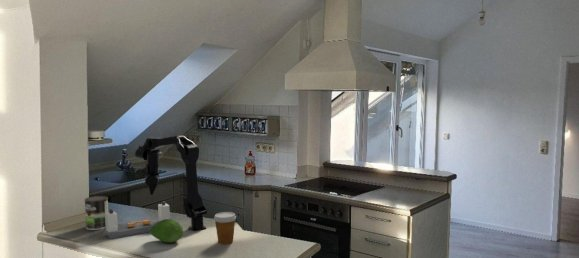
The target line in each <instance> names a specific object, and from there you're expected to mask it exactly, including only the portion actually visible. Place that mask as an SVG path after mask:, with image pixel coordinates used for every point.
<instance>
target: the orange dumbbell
mask: <svg viewBox="0 0 579 258" xmlns="http://www.w3.org/2000/svg"><path fill="white" fill-rule="evenodd" d="M150 221H151V220H150V219H146V220H140V221H139V220H138V221H133V222H128V223H126V225H127V227H132V226H135V224H137V223H142V224H150V223H151V222H150Z"/></svg>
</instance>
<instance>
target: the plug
mask: <svg viewBox="0 0 579 258" xmlns="http://www.w3.org/2000/svg"><path fill="white" fill-rule="evenodd" d="M170 206H171V205H169V204H168V203H166V201H165V200H164V201H161V204H160V203H159V204H157V208H158V209H157V210H158V211H157V212H158V220H159V221H162V220H165V219H171V213H170V212H171V210H170V209H171V207H170Z"/></svg>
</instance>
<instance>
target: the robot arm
mask: <svg viewBox="0 0 579 258" xmlns="http://www.w3.org/2000/svg"><path fill="white" fill-rule="evenodd" d="M169 145H175V147H176V151H178V152H179V154H180V157H181V160H182V161H183V162H184V165H185V175H186V176H185V177H186V178H185V179H186V189H187V191H186V192H187V193H186V194H187V195H186V196H185V197H183V199H182V201H183V208H184V210H185V214H186V217H187V218H189V219H190V223H191V224H190V226H188V229H190V230H192V231H194V232H195V231H200V230H205V229H207V227H206V226H205V225H204V216H206V215H207V214H208V211H209V210H208V208H206V206H205V204H204V203H203V202H204V201H203V198H202V196H201V195H200V193H199V187H198V186H199V185H198V173H197V172H198V171H197V163H198V159H199V158H200V147H199V146H198V144H195V143H194V142H193V141H192V140H190V139H188V138H187V137H186V136H185V135H183V134H177V135H173V136H170V137H159V136H155V137H147V138H146V139H145V142H144V143H143V145H139V146H138V147H137V149H136V150H135V152H134V157H135V158H136V159H138V160H143V161H146V165H144V166H142V167H139V168H136V169H134V173H135V176H136V177H137V178H139V177H141V176H144V175H145V179H144V183H145V184H146V185H147V186H148V189H149V194H150V196H153V195H154V193H155V191H156V189H157V187H158V184H159V179H160V178H159V176H160V169H159V167H160V164H159V162H160V155H163V153H162V151H161V150H160V148H162V147H165V146H169Z"/></svg>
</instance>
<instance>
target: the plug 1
mask: <svg viewBox="0 0 579 258" xmlns="http://www.w3.org/2000/svg"><path fill="white" fill-rule="evenodd" d="M118 223H119V222H118V213H117V211H114V209H113V208H112V209H111V208H110V209H108V212H106V228H105V231H106V230H107V231H108V232H115V231H118V227H119V225H118Z"/></svg>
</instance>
